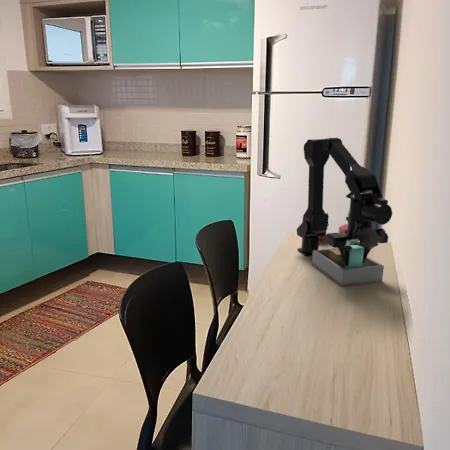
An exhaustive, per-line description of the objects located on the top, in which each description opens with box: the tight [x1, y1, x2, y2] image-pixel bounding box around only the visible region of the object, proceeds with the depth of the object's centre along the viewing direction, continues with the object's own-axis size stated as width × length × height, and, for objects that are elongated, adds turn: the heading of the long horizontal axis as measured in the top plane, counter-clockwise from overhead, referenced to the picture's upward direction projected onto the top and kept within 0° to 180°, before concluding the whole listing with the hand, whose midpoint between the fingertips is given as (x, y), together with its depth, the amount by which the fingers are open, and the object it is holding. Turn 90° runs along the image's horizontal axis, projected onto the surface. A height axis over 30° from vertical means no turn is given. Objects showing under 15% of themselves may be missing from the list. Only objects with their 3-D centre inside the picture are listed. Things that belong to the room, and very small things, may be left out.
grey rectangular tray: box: [311, 247, 385, 288], centre depth 140 cm, size 18×14×5 cm
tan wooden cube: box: [328, 248, 345, 269], centre depth 143 cm, size 5×5×5 cm
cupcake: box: [337, 210, 357, 245], centre depth 168 cm, size 9×8×12 cm
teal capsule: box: [345, 244, 364, 269], centre depth 135 cm, size 5×5×7 cm
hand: (353, 264), depth 136 cm, fingers closed on teal capsule, 5 cm apart
